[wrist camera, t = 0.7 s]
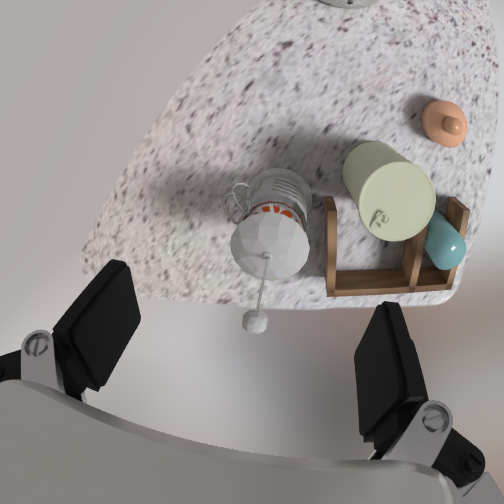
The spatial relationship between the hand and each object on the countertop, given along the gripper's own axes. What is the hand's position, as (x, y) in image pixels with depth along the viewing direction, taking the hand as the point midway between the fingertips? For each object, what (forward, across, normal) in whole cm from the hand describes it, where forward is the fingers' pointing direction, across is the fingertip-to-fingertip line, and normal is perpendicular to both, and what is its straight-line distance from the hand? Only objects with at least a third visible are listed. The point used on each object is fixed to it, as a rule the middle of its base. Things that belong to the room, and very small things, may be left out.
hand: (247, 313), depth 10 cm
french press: (+32, +1, +8) cm, 33 cm away
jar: (+31, -24, +8) cm, 41 cm away
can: (+32, -13, +2) cm, 34 cm away
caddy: (+31, -18, +11) cm, 38 cm away
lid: (+32, -21, -8) cm, 39 cm away
